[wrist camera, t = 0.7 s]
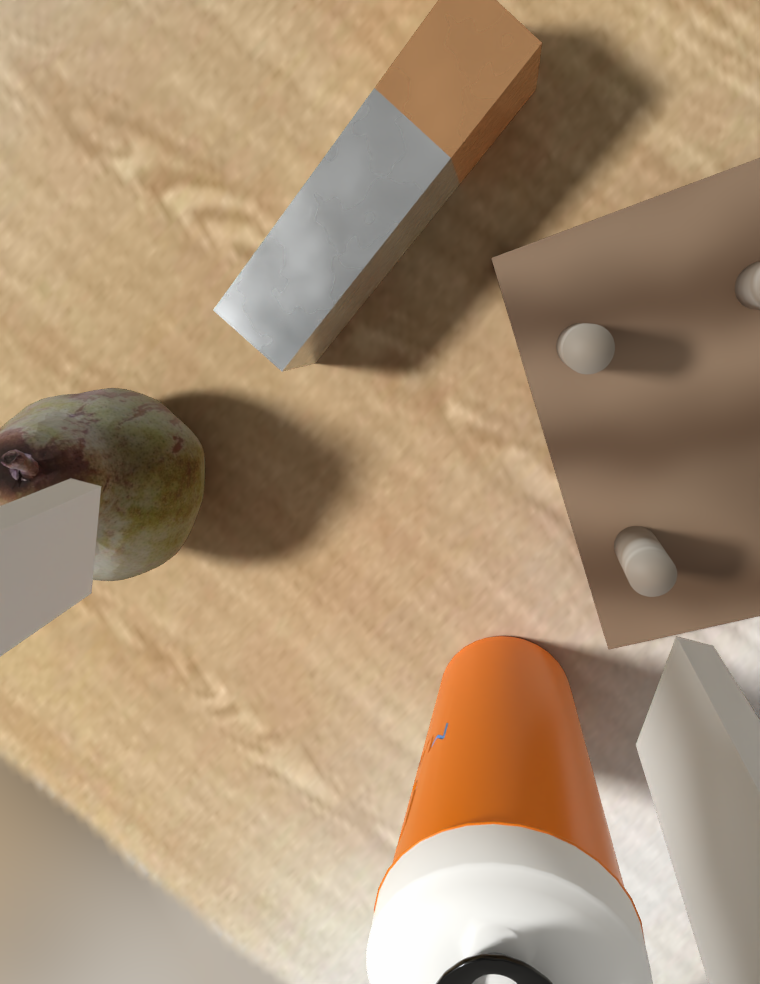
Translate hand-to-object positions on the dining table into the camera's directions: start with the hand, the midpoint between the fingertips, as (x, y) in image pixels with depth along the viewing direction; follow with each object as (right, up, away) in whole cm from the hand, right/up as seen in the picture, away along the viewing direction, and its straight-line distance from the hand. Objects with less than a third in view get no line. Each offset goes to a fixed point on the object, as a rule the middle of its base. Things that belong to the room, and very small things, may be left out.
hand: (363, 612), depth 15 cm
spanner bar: (+1, +16, +18) cm, 24 cm away
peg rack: (+15, +6, +18) cm, 24 cm away
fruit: (-12, +4, +23) cm, 27 cm away
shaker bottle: (+7, -8, +23) cm, 25 cm away
